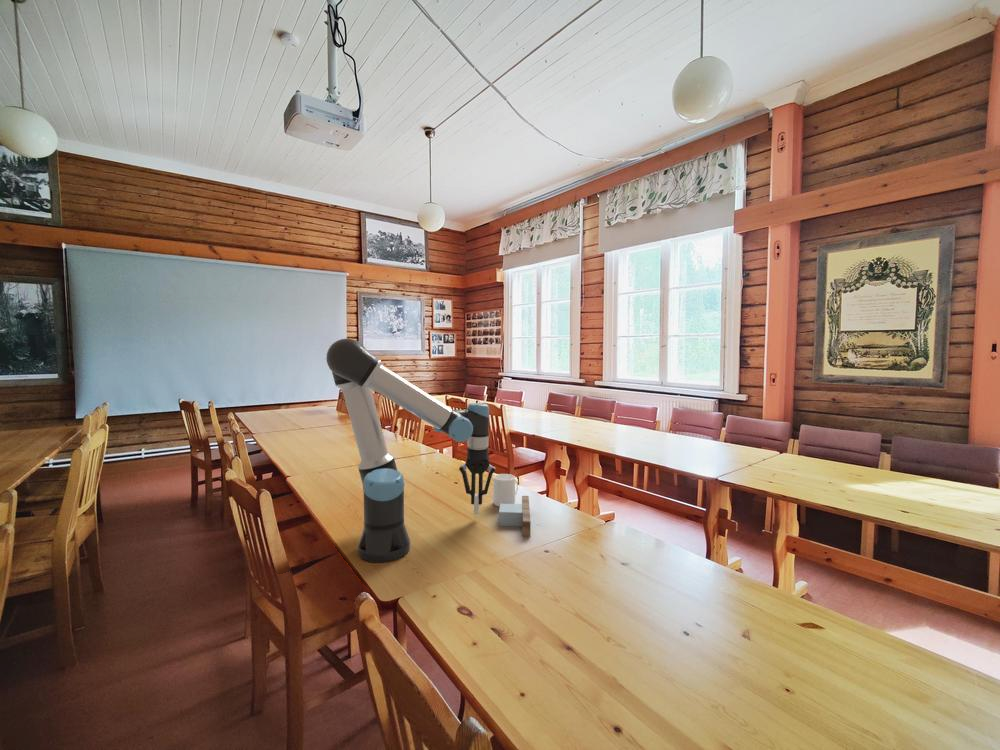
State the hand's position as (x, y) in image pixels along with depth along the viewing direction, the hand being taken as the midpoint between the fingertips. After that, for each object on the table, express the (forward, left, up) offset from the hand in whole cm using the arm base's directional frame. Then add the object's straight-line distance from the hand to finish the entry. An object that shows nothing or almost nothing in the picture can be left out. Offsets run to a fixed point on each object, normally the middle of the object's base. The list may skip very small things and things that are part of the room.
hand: (476, 513), depth 151 cm
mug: (+18, -10, -3) cm, 21 cm away
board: (0, -17, -3) cm, 18 cm away
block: (0, -12, -3) cm, 13 cm away
